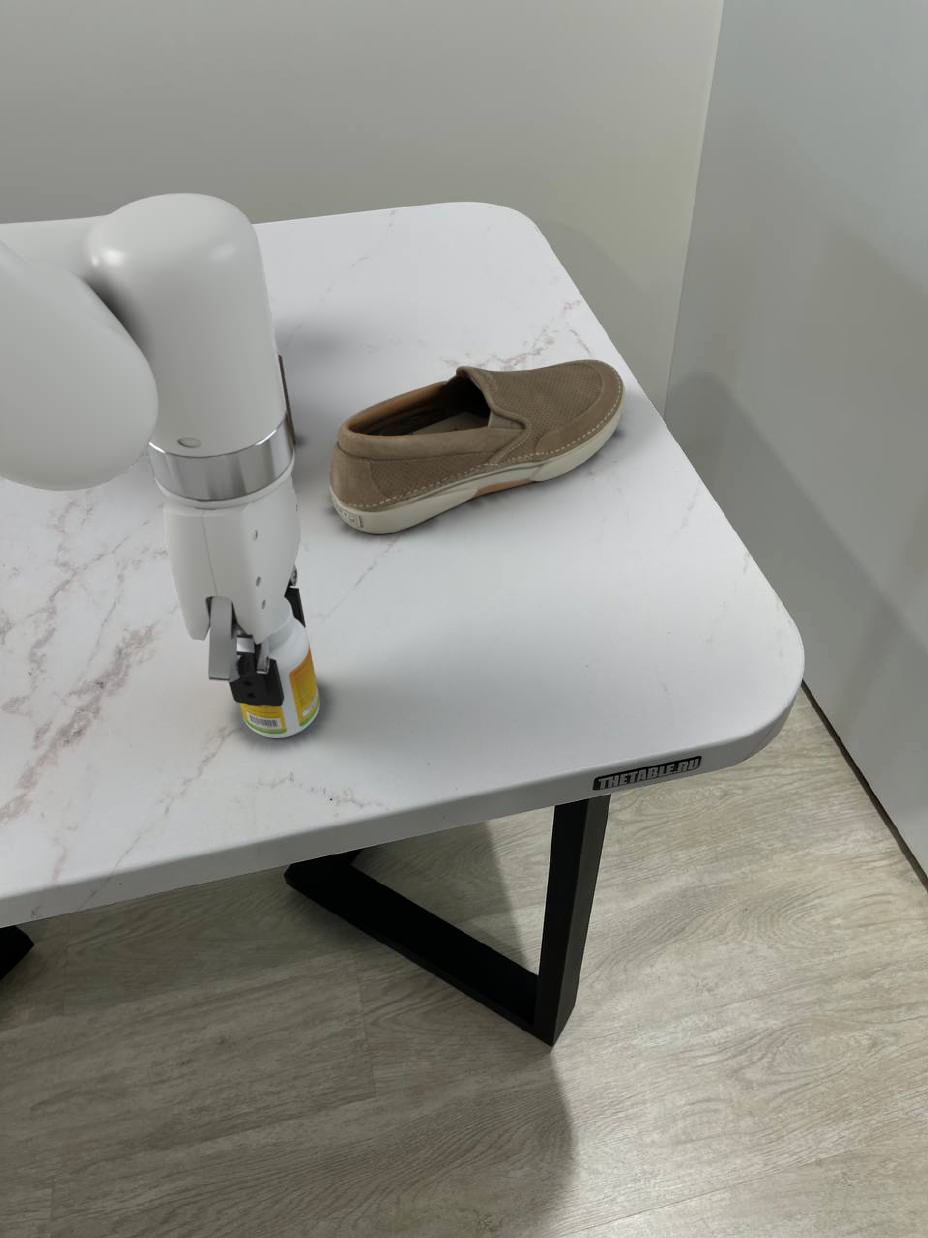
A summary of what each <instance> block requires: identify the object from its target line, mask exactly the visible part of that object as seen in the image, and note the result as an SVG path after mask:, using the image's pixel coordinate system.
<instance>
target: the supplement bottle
mask: <svg viewBox="0 0 928 1238" xmlns="http://www.w3.org/2000/svg"><path fill="white" fill-rule="evenodd" d="M268 643H269V656H270V658H272V659H274V660H276V662H277V666H278V671H279V675H280V680H281V684H282V689H283V693H284V701H283V704H282V705H281V706H266V705H262V706H252V705H247V704H242V703H238V704H239V708H240V712H241V715H242V718H243V720H244V722H245V724H246V725H247V726H248V728H249V729H250V730H251V731H253V732H254V733H256V734H258V735H260V736H263V737H266V738H273V739H281V738H288V737H291V736H294V735H297V734H298V733H300V732H302V731H304V730H305V729H306V728H307V727H309V726H310V725H311V724H312V723H313V721H314V720H315V719H316V717H317V716H318V714H319V710H320V702H321V701H320V694H319V693H320V692H319V688H318V683H317V678H316V677H317V676H316V672H315V666H314V662H313V661H314V660H313V655H312V650H311V644H310V640H309V636H308V633H307V630H306V627H305V628H304V626H303V625H302V624H301V623H300V622H299V621H298V620H297V619H295V618H294V616H293V612H292V608H291V605H290V603H289V601H288V600H287V599H286V598H285V597H284V598H283V601H282V604H281V607H280V610H279V612H278V615H277V618H276V621H275V624H274V627H273V629H272V631H271V633H270V635H269V636H268ZM237 651H243V652H255V651H254V641H253V640H251V639H248V638H237Z"/></svg>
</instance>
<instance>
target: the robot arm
mask: <svg viewBox="0 0 928 1238" xmlns="http://www.w3.org/2000/svg"><path fill="white" fill-rule="evenodd" d="M270 304H271V303H270V297H269V293H268V286H267V281H266V275H265V269H264V263H263V256H262V251H261V247H260V243H259V239H258V235H257V233H256V230H255V228H254V226H253V225H252V223H251V221H250V220H249V218H248V216H246V215H245V214H244V213H243V211H241V210H240V209H239V208H238V207H237V206H235V205H234V204H231V203H230V202H228V201H226V200H223V199H221V198H219V197H216V196H212V195H207V194H204V193H203V194H202V193H194V192H193V193H192V192H191V193H190V192H177V193H175V192H174V193H166V194H165V193H164V194H159V195H153V196H149V197H144V198H141V199H138V200H134V201H132V202H129V203H127V204H125V205H123V206H121V207H119V208H117V209H116V210H114V211H113V212H111V213H109V214H103V215H96V216H88V217H78V218H76V217H75V218H65V219H64V218H63V219H54V220H41V221H26V222H25V221H21V222H9V223H0V478H3V479H5V480H8V481H10V482H13V483H15V484H20V485H23V486H27V487H29V488H33V489H37V490H45V491H51V492H52V491H53V492H75V491H81V490H87V489H92V488H95V487H98V486H100V485H103V484H106V483H109V482H111V481H113V480H114V479H116V478H118V477H119V476H121V475H122V474H124V473H126V472H127V471H128V470H129V469H130V468H131V467H132V466H134V465H135V464H136V463H137V462H138V460H139V459H140V458H141V456H142V455H143V454H144V453H145V451H146V453H147V457H148V460H149V463H150V466H151V469H152V473H153V477H154V480H155V483H156V485H157V487H158V488H159V490H160V491H161V492H162V493H163V494H164V498H163V502H162V503H163V504H162V508H163V510H162V511H163V521H164V524H163V525H164V532H165V541H166V542H165V543H166V548H167V555H168V560H169V565H170V571H171V574H172V580H173V584H174V588H175V594H176V597H177V600H178V606H179V609H180V613H181V616H182V620H183V624H184V627H185V630H186V632H187V634H188V636H189V637H190V638H191V640H194V641H202V642H203V641H205V640H206V638H207V635H208V633H209V643H208V644H209V646H208V666H207V667H208V669H207V671H208V672H207V676H208V677H207V678H208V680H209V681H212V682H213V681H215V682H226V683H228V686H229V688H230V693H231V696H232V699H233V701H234V702H235V703H237V704H239V703H242V704H247V705H252V706H262V705H266V706H281V705H282V704H283V701H284V693H283V689H282V684H281V680H280V675H279V671H278V666H277V662H276V660H274V659H272V658H270V656H269V643H268V636H269V635H270V633H271V631H272V629H273V627H274V624H275V621H276V618H277V615H278V612H279V610H280V607H281V604H282V601H283V598H284V597H285V598H286V599H287V600H288V601H289V603H290V605H291V608H292V612H293V616H294V618H295V619H297V620H298V621H299V622H300V623H301V624H302V625H303V626H304V628H305V629H306V620H305V613H304V608H303V604H302V597H301V593H300V588H299V587H296V586H297V584H298V583H297V582H298V575H299V574H298V569H297V567H296V564H295V563H296V559H297V556H298V554H299V553H298V552H299V549H300V544H301V520H300V514H299V513H300V511H299V507H298V501H297V496H296V490H295V486H294V482H293V478H292V471H293V469H294V466H295V462H296V461H295V459H296V455H295V454H296V453H295V450H294V445H293V443H292V437H291V431H290V425H289V419H288V413H287V407H286V402H285V395H284V389H283V383H282V377H281V371H280V365H279V358H278V355H279V352H278V348H277V340H276V336H275V330H274V329H275V328H274V322H273V317H272V310H271V305H270ZM237 638H248V639H251V640H253V641H254V651H255V652H243V651H237Z"/></svg>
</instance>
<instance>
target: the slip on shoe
mask: <svg viewBox="0 0 928 1238" xmlns="http://www.w3.org/2000/svg"><path fill="white" fill-rule="evenodd" d="M625 401H626V387H625V382H624V381H623V378H622V377H621V376H620V374H619V372H618V371H617V370H616V368H615V367H613V366H611V365H610V364H608V363H607V362H605V361H602V360H598V359H588V358H587V359H586V358H585V359H577V360H576V359H575V360H571V361H565V362H559V363H555V364H551V365H549V366H543V367H538V368H532V369H521V370H509V371H508V370H507V371H502V370H501V371H500V370H499V371H498V370H489V369H484V368H480V367H475V366H474V367H473V366H471V365H461V366H459V367H457V369H456V370H455V375H453V376H452V377H450V378H449V379H447V380H441V381H437V382H435V383H431V384H428V385H425V386H422V387H418V388H416V389H412V390H409V391H406V392H404V393H401V394H399V395H395V396H393V397H391V398H388V399H385V400H382V401H380V402H377V403H375V404H372V405H370V406H368V407H367V408H364V409H362V410H360V411H358V412H357V413H354V415H352V416H351V415H350V417H348V419H346V420H345V421H344V422H342V424H341V425H340V428H339V430H338V432H337V440H336V442H335V443H334V445H333V448H332V455H331V456H332V458H331V461H330V467H329V491H330V497H331V501H332V504H333V507H334V508H335V510H336V512H337V514H338V515H339V516H340V518H341V519H342V520H343V521H344V522H345V523H346V524H348V525H349V526H350V527H351V528H353V529H355V530H358V531H360V532H364V533H368V534H391V533H397V532H401V531H404V530H407V529H409V528H411V527H414V526H417V525H419V524H421V523H423V522H425V521H427V520H429V519H431V518H433V517H435V516H437V515H440V514H442V513H443V512H446V511H448V510H450V509H453V508H455V507H457V506H459V505H461V504H463V503H465V502H467V501H469V500H473V499H475V498H477V497H480V496H483V495H486V494H490V493H495V492H498V491H502V490H507V489H511V488H515V487H518V486H522V485H526V484H530V483H532V482H544V481H548V480H551V479H554V478H557V477H560V476H562V475H565V474H566V473H568V472H571V471H572V470H574V469H576V468H577V467H579V466H580V465H582V464H584V463H586V462H587V460H589V459H590V458H591V457H592V456H594V455H595V454H596V453H597V452H598V451H599V450H600V449H601V448H603V446H604V445H605V444H606V443H607V442H608V440H610V438H611V437H612V435H613V434H614V432H615V430H616V429H617V427H618V425H619V422H620V421H621V417H622V414H623V410H624V407H625Z"/></svg>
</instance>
